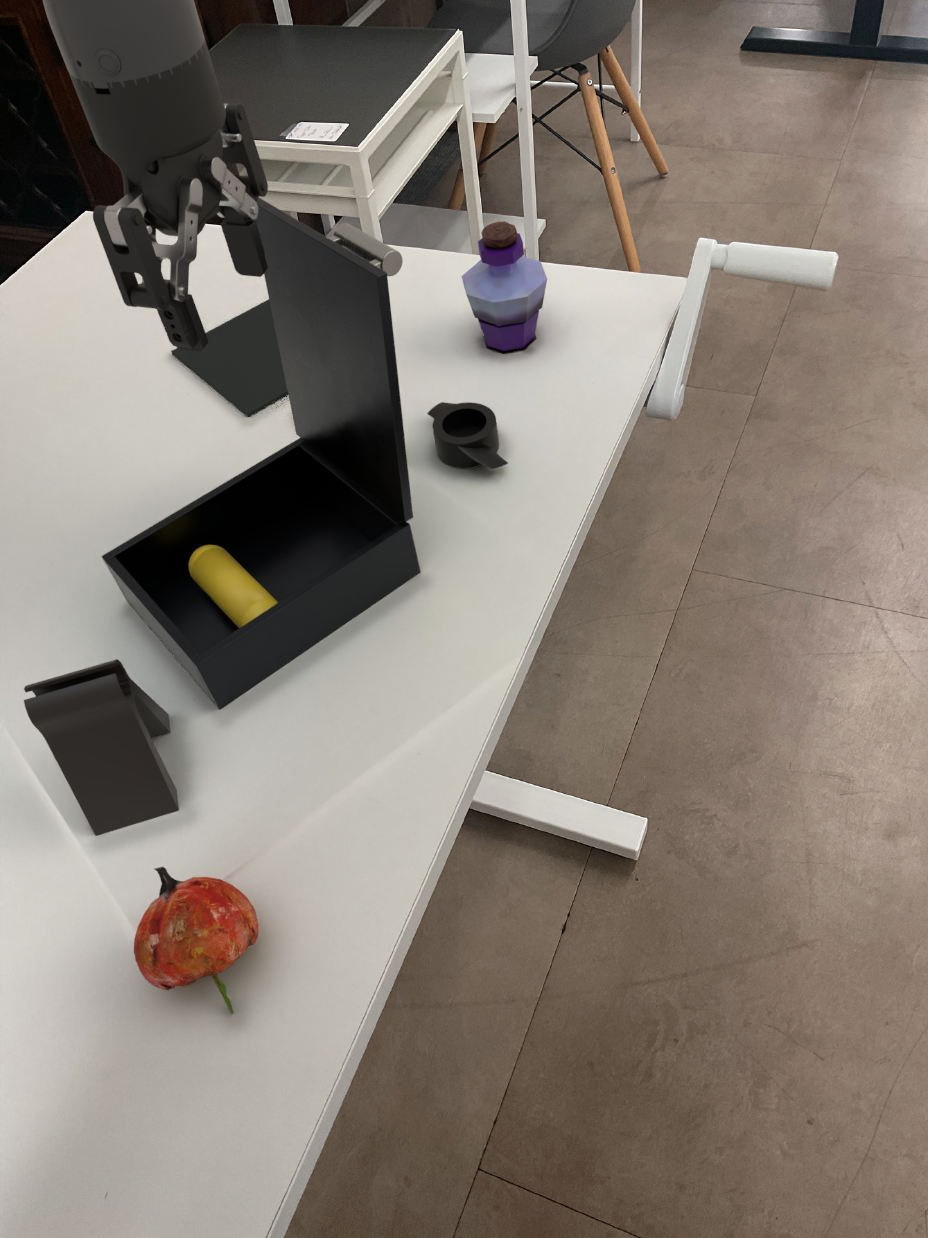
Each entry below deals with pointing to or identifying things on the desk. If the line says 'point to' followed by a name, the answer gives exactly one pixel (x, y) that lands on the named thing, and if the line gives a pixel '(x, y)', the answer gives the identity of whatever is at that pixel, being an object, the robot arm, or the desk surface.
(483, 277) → the potion bottle
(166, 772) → the phone stand
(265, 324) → the mat
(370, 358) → the lid
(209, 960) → the painted toy pumpkin
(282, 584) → the black open box
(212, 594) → the yellow capsule
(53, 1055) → the desk surface
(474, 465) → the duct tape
